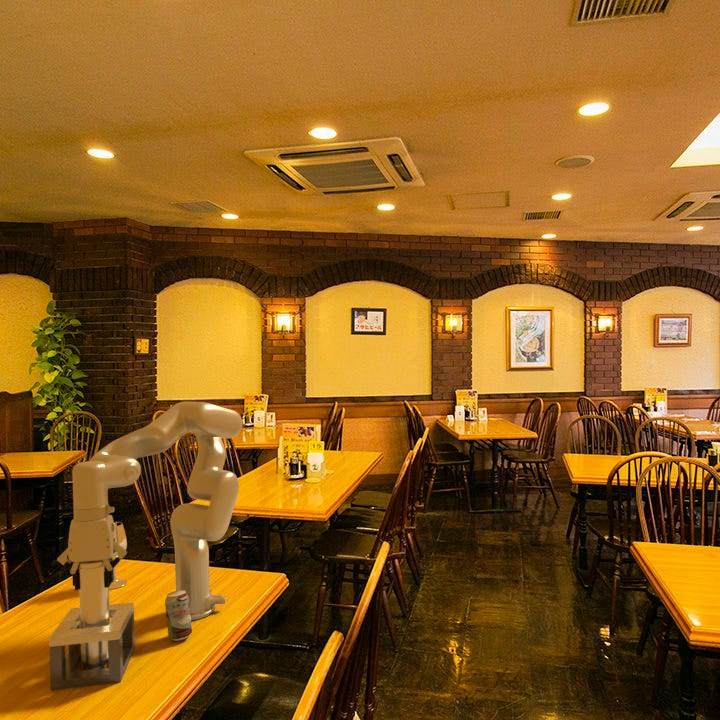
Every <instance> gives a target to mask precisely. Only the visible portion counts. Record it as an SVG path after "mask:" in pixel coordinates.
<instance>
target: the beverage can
mask: <svg viewBox="0 0 720 720" xmlns="http://www.w3.org/2000/svg"><path fill="white" fill-rule="evenodd" d="M164 604H165V615H166V623H167V624H166V625H167V637H168V639H170V640H172V641H174V642H176V641H177V642H178V641H183V640H185V639H187V638H188V637H189V636H190V635H191V634H192V632H193V627H192V620H191V615H190V606H189V596H188V594H187V593H186V591H185V590H179V591H176V590H175V591H172V592H169V593H167V594H166V598H165V600H164Z"/></svg>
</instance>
